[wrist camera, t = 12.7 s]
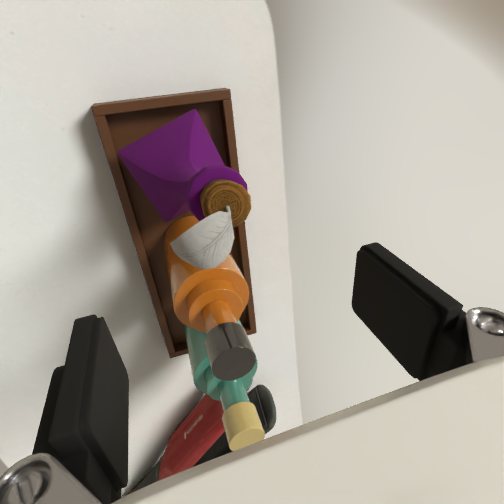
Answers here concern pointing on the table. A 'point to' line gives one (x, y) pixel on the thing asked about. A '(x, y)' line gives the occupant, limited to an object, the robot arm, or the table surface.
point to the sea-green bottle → (225, 394)
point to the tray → (140, 207)
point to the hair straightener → (205, 435)
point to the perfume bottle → (190, 187)
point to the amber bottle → (211, 306)
